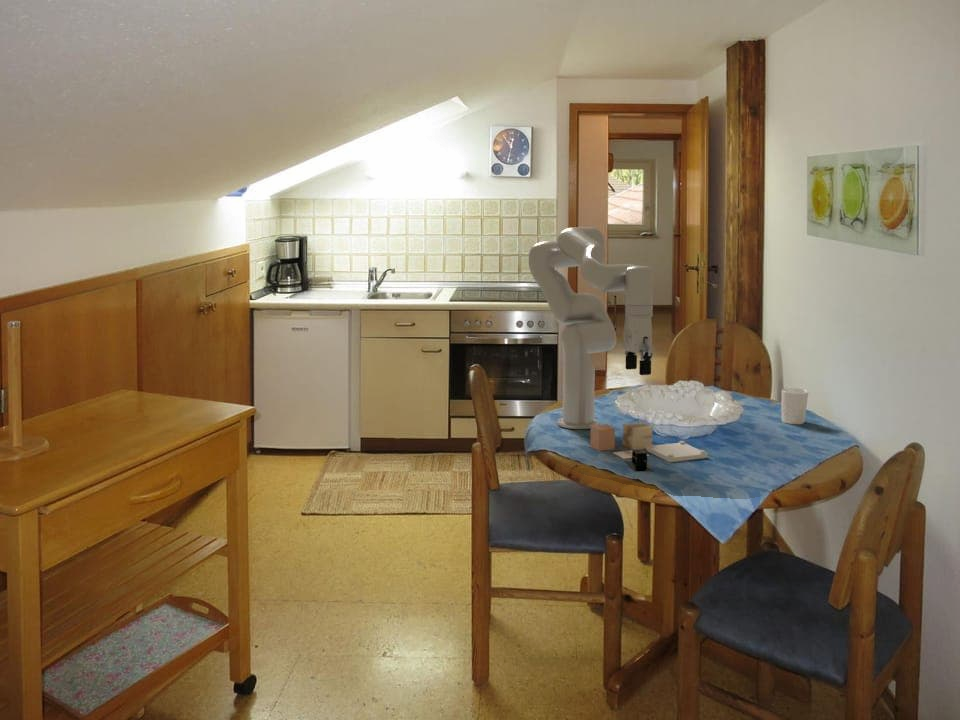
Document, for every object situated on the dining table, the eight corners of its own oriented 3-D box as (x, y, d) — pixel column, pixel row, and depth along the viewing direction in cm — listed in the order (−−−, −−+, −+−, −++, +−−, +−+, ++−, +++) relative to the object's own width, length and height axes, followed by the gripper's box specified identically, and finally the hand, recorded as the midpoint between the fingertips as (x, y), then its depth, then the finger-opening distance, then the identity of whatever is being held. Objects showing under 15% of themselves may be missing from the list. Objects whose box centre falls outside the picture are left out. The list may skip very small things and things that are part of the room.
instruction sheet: (612, 453, 263) (612, 452, 263) (638, 450, 266) (638, 449, 266) (623, 458, 258) (623, 458, 257) (649, 455, 260) (649, 455, 260)
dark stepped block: (619, 462, 257) (620, 445, 256) (645, 461, 258) (646, 444, 257) (632, 475, 245) (633, 458, 244) (660, 474, 246) (660, 457, 245)
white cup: (774, 419, 301) (776, 388, 299) (795, 418, 303) (798, 387, 301) (789, 425, 293) (791, 394, 291) (811, 424, 295) (813, 392, 294)
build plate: (646, 450, 266) (646, 444, 265) (682, 446, 270) (683, 440, 270) (669, 462, 255) (669, 456, 254) (707, 457, 259) (707, 451, 259)
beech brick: (622, 444, 272) (623, 424, 271) (640, 442, 274) (641, 422, 273) (633, 450, 266) (633, 429, 265) (651, 448, 269) (652, 427, 267)
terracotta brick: (590, 446, 270) (590, 425, 269) (605, 444, 272) (606, 424, 271) (598, 450, 265) (599, 430, 264) (614, 449, 267) (615, 428, 266)
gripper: (614, 308, 270) (613, 367, 273) (638, 314, 254) (637, 377, 256) (638, 307, 272) (638, 366, 275) (664, 313, 255) (663, 376, 258)
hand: (638, 371), depth 266 cm, fingers open, 9 cm apart
